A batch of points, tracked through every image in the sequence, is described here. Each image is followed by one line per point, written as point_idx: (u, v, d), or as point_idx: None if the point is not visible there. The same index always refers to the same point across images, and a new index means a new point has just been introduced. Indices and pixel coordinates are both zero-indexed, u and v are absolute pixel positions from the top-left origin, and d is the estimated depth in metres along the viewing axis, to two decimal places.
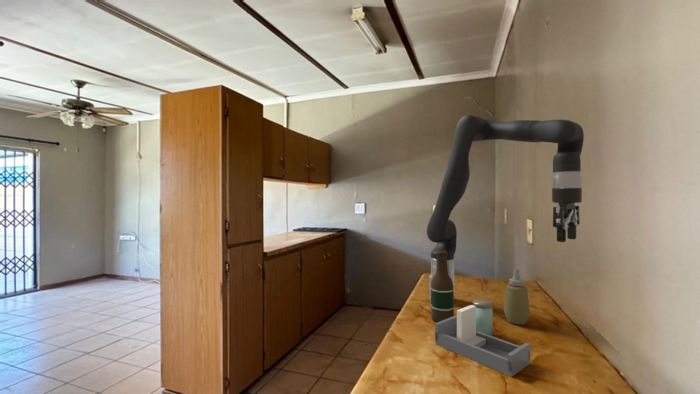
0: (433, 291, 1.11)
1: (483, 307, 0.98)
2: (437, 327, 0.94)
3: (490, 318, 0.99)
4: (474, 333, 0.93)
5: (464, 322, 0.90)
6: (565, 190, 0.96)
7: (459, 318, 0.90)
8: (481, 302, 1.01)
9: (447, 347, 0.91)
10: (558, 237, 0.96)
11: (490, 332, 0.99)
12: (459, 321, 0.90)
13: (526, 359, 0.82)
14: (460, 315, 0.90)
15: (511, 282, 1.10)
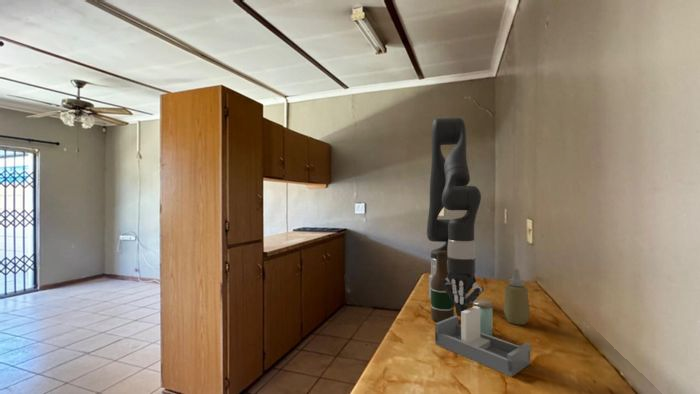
0: (433, 291, 1.11)
1: (483, 307, 0.98)
2: (437, 327, 0.94)
3: (490, 318, 0.99)
4: (478, 335, 0.92)
5: (469, 324, 0.89)
6: (474, 260, 0.91)
7: (463, 319, 0.89)
8: (481, 302, 1.01)
9: (447, 347, 0.91)
10: None
11: (490, 332, 0.99)
12: (464, 323, 0.89)
13: (526, 359, 0.82)
14: (464, 317, 0.89)
15: (511, 282, 1.10)
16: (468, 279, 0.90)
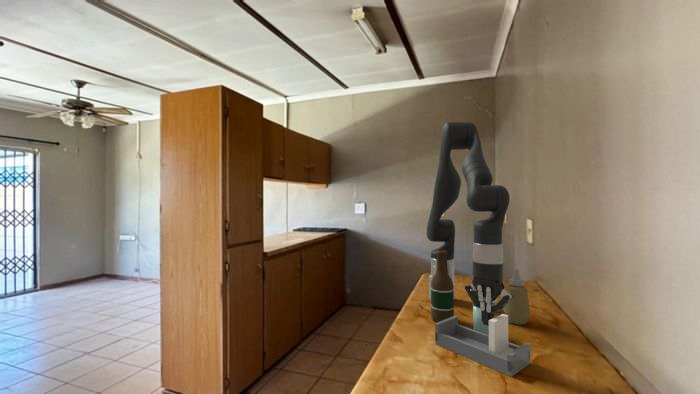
0: (433, 291, 1.11)
1: None
2: (437, 327, 0.94)
3: None
4: (506, 345, 0.86)
5: (497, 333, 0.83)
6: (502, 265, 0.85)
7: (491, 328, 0.82)
8: None
9: (447, 347, 0.91)
10: None
11: None
12: (492, 333, 0.82)
13: (526, 359, 0.82)
14: (492, 326, 0.82)
15: (511, 282, 1.10)
16: (496, 285, 0.84)
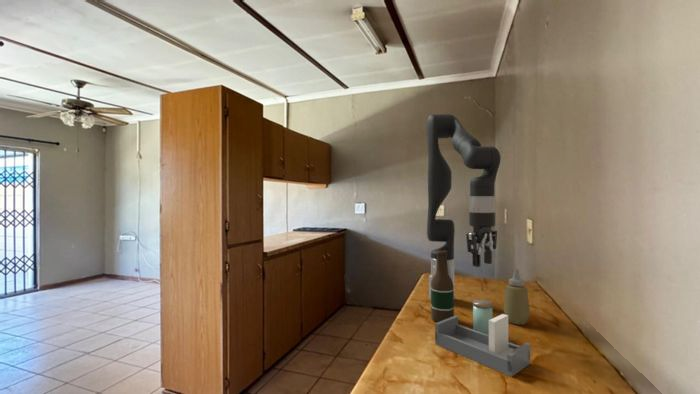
0: (433, 291, 1.11)
1: (483, 307, 0.98)
2: (437, 327, 0.94)
3: (490, 318, 0.99)
4: (506, 345, 0.86)
5: (497, 333, 0.83)
6: None
7: (491, 328, 0.82)
8: (481, 302, 1.01)
9: (447, 347, 0.91)
10: None
11: None
12: (492, 333, 0.82)
13: (526, 359, 0.82)
14: (492, 326, 0.82)
15: (511, 282, 1.10)
16: (490, 230, 1.02)
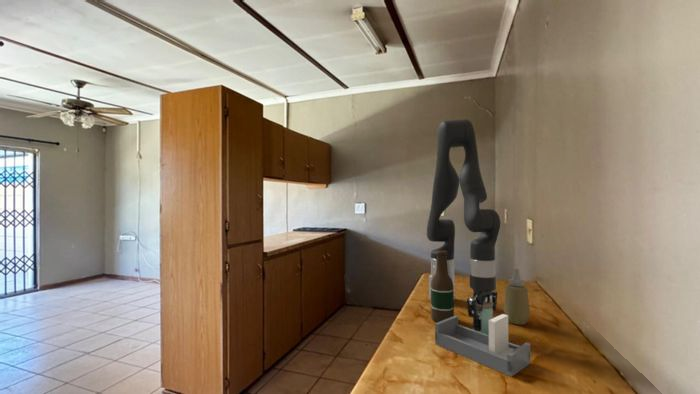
0: (433, 291, 1.11)
1: None
2: (437, 327, 0.94)
3: (490, 318, 0.99)
4: (506, 345, 0.86)
5: (497, 333, 0.83)
6: None
7: (491, 328, 0.82)
8: None
9: (447, 347, 0.91)
10: None
11: None
12: (492, 333, 0.82)
13: (526, 359, 0.82)
14: (492, 326, 0.82)
15: (511, 282, 1.10)
16: (490, 292, 1.02)
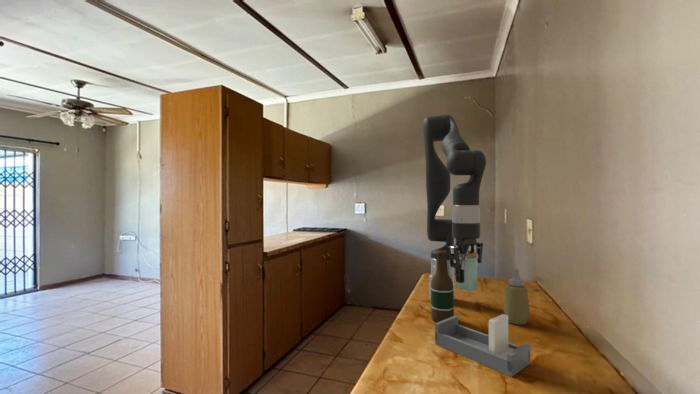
0: (433, 291, 1.11)
1: None
2: (437, 327, 0.94)
3: (474, 269, 0.90)
4: (506, 345, 0.86)
5: (497, 333, 0.83)
6: None
7: (491, 328, 0.82)
8: None
9: (447, 347, 0.91)
10: None
11: (474, 284, 0.90)
12: (492, 333, 0.82)
13: (526, 359, 0.82)
14: (492, 326, 0.82)
15: (511, 282, 1.10)
16: (475, 241, 0.93)
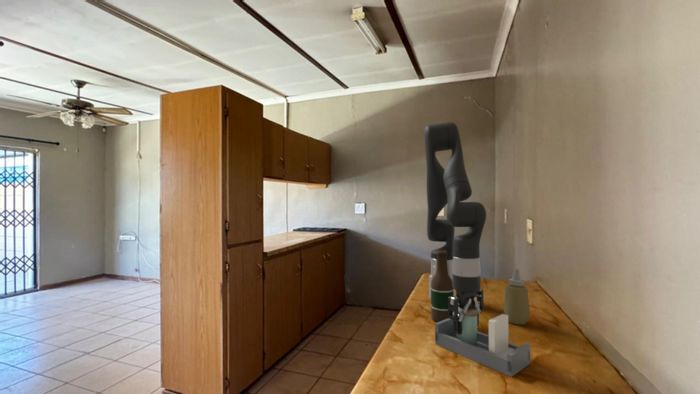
0: (433, 291, 1.11)
1: (467, 315, 0.89)
2: (437, 327, 0.94)
3: (474, 327, 0.90)
4: (506, 345, 0.86)
5: (497, 333, 0.83)
6: None
7: (491, 328, 0.82)
8: None
9: (447, 347, 0.91)
10: None
11: (474, 342, 0.90)
12: (492, 333, 0.82)
13: (526, 359, 0.82)
14: (492, 326, 0.82)
15: (511, 282, 1.10)
16: (475, 292, 0.93)
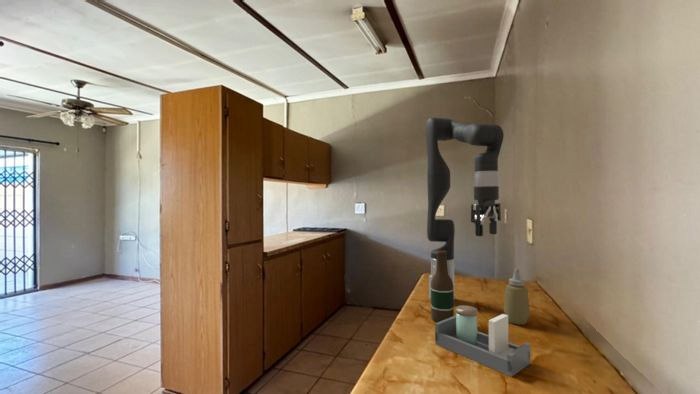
0: (433, 291, 1.11)
1: (467, 315, 0.89)
2: (437, 327, 0.94)
3: (474, 327, 0.90)
4: (506, 345, 0.86)
5: (497, 333, 0.83)
6: None
7: (491, 328, 0.82)
8: (464, 309, 0.92)
9: (447, 347, 0.91)
10: None
11: (474, 342, 0.90)
12: (492, 333, 0.82)
13: (526, 359, 0.82)
14: (492, 326, 0.82)
15: (511, 282, 1.10)
16: (494, 204, 1.07)
